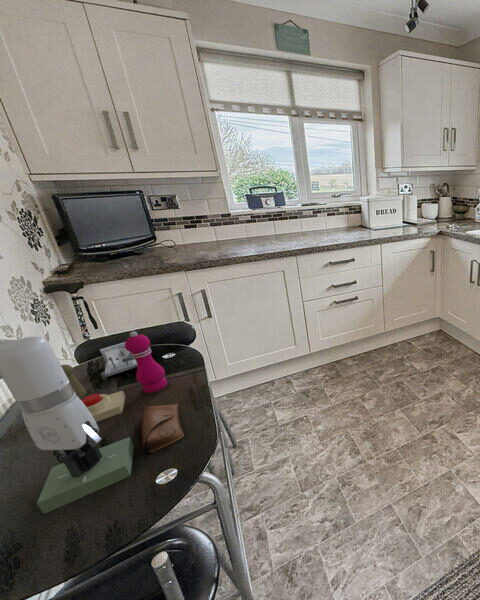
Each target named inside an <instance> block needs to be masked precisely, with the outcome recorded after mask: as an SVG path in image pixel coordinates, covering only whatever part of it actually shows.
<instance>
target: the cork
mask: <svg viewBox="0 0 480 600" xmlns="http://www.w3.org/2000/svg"><path fill="white" fill-rule="evenodd" d="M60 365H61V366H62V368H63V370H64V372H65V374H66V376H67V378H68V380H69V381H70V383H71V385H72V387H73V389H74V390H75V392H76V396H78V397H79V399H82V398H83V397H84V396H85V395H86V394H87V393H88V391H87V389H86V388H85V387H84V385H82V383H81V382H80V381H79V379H78V378H77V377H76V376H75V374H74V368H73V366H72V365H70V364H60ZM86 391H87V392H86ZM85 393H86V394H85ZM81 396H82V397H81Z"/></svg>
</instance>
